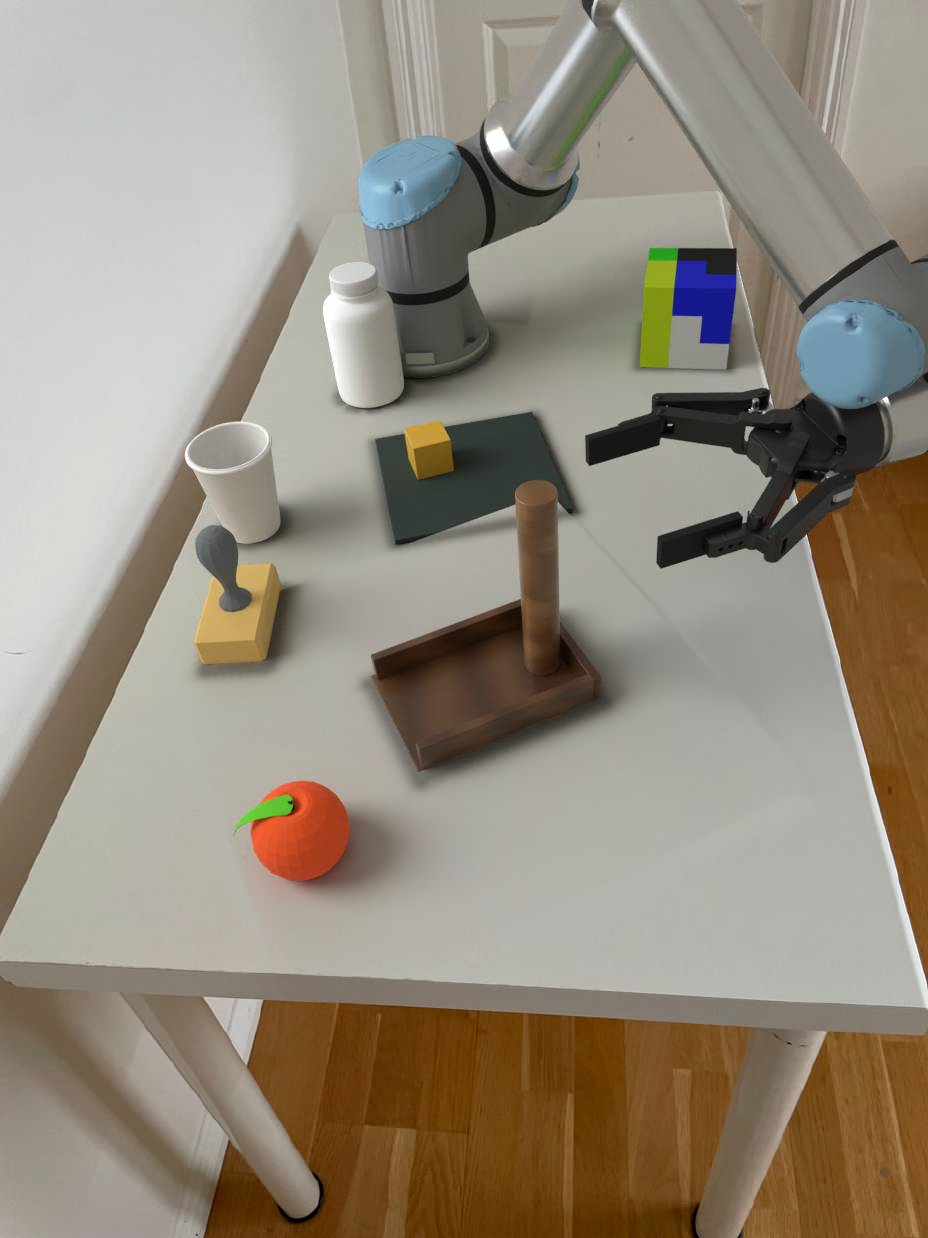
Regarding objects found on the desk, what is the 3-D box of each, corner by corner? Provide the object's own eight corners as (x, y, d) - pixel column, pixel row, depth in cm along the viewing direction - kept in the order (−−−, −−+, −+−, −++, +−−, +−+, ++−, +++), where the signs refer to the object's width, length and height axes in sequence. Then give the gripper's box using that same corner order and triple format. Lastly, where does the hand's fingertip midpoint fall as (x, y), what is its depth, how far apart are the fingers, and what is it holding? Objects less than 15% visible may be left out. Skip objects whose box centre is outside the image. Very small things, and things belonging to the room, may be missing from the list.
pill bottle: (415, 377, 114) (398, 257, 104) (390, 413, 109) (370, 291, 99) (355, 371, 117) (333, 253, 106) (328, 406, 111) (302, 286, 101)
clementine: (250, 912, 66) (223, 859, 61) (247, 829, 71) (222, 774, 66) (362, 887, 67) (345, 833, 62) (351, 806, 72) (334, 750, 66)
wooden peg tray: (539, 620, 84) (532, 442, 70) (600, 704, 76) (606, 525, 63) (372, 683, 80) (331, 509, 67) (419, 779, 73) (384, 605, 59)
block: (440, 419, 99) (403, 428, 99) (450, 439, 97) (413, 448, 96) (443, 450, 102) (408, 459, 102) (454, 471, 99) (417, 480, 99)
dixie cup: (284, 492, 100) (261, 411, 93) (301, 538, 95) (279, 456, 88) (206, 513, 99) (178, 434, 92) (220, 562, 93) (191, 481, 86)
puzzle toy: (726, 369, 110) (736, 288, 103) (639, 367, 112) (643, 287, 105) (727, 327, 116) (736, 248, 109) (645, 325, 118) (649, 247, 111)
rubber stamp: (268, 668, 82) (233, 567, 74) (203, 671, 83) (161, 571, 74) (283, 590, 89) (253, 489, 81) (224, 593, 90) (187, 493, 81)
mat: (375, 442, 105) (375, 438, 105) (532, 415, 106) (532, 411, 106) (395, 544, 93) (394, 540, 92) (572, 512, 94) (572, 508, 93)
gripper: (947, 554, 71) (691, 638, 68) (774, 387, 88) (563, 449, 85) (975, 477, 66) (698, 565, 63) (785, 314, 83) (560, 378, 80)
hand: (620, 498), depth 74 cm, fingers open, 13 cm apart
